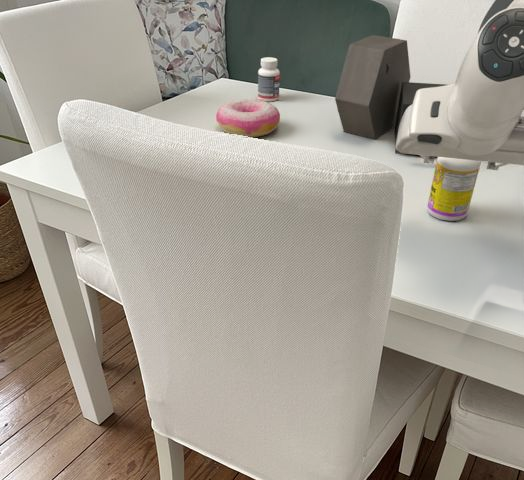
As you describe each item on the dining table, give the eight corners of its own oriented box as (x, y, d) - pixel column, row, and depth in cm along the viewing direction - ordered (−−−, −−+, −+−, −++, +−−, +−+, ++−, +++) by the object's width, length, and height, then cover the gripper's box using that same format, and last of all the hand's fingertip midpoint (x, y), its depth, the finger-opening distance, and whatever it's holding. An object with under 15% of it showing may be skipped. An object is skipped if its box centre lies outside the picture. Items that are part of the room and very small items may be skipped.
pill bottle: (277, 102, 138) (278, 62, 132) (256, 101, 139) (256, 61, 133) (280, 95, 142) (281, 57, 136) (259, 94, 143) (260, 55, 137)
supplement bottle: (431, 200, 99) (447, 125, 90) (470, 209, 97) (490, 132, 88) (421, 217, 94) (438, 139, 86) (462, 226, 92) (483, 147, 84)
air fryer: (459, 157, 113) (471, 108, 107) (395, 153, 115) (403, 103, 109) (453, 132, 124) (463, 85, 118) (394, 128, 126) (402, 81, 120)
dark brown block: (381, 89, 131) (368, 11, 113) (412, 95, 128) (404, 16, 110) (347, 148, 129) (329, 78, 110) (378, 156, 125) (364, 85, 107)
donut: (205, 133, 122) (203, 109, 119) (236, 115, 131) (236, 92, 128) (260, 145, 117) (260, 120, 114) (289, 125, 126) (290, 102, 123)
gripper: (569, 101, 72) (534, 149, 85) (405, 87, 75) (397, 135, 89) (562, 149, 72) (528, 189, 85) (397, 133, 75) (390, 174, 89)
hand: (460, 162), depth 87 cm, fingers open, 8 cm apart
